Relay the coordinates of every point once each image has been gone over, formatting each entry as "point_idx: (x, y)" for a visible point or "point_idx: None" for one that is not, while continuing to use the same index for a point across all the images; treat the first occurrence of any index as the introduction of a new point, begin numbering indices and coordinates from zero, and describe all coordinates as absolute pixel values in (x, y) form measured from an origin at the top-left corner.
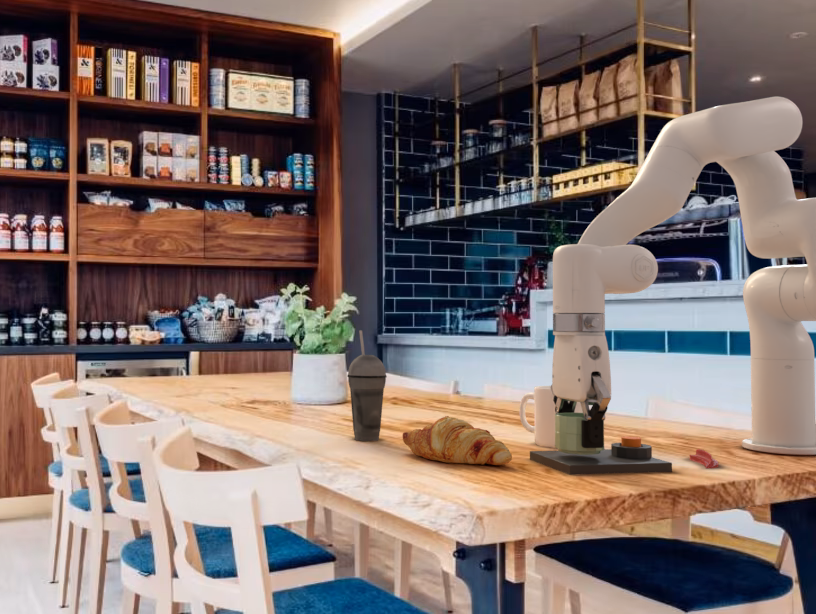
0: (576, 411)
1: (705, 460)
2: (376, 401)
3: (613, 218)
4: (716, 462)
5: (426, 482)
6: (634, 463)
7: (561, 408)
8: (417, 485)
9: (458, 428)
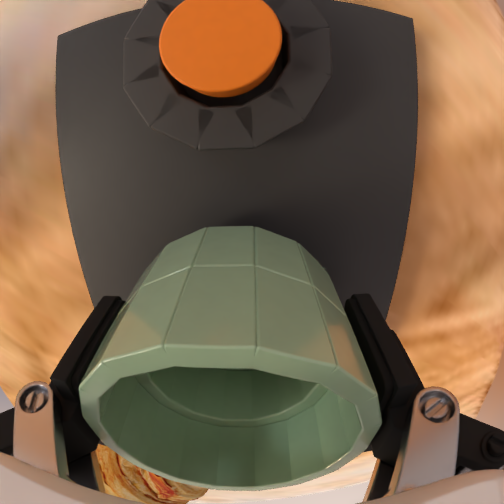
0: None
1: None
2: None
3: None
4: None
5: (327, 481)
6: (410, 166)
7: (93, 461)
8: (338, 483)
9: (167, 501)
